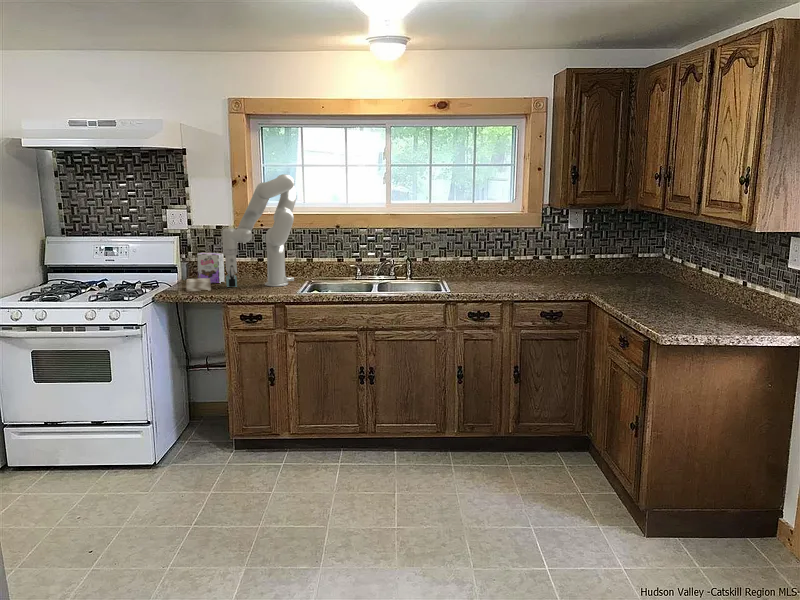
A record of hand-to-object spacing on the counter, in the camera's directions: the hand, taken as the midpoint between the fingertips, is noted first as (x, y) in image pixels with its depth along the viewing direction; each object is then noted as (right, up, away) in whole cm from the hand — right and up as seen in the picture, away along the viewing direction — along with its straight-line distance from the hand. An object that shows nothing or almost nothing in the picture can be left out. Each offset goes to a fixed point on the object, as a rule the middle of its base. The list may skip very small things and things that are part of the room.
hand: (231, 285), depth 350 cm
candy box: (-15, +2, +16) cm, 22 cm away
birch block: (-16, -2, -6) cm, 17 cm away
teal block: (0, -1, 0) cm, 1 cm away
